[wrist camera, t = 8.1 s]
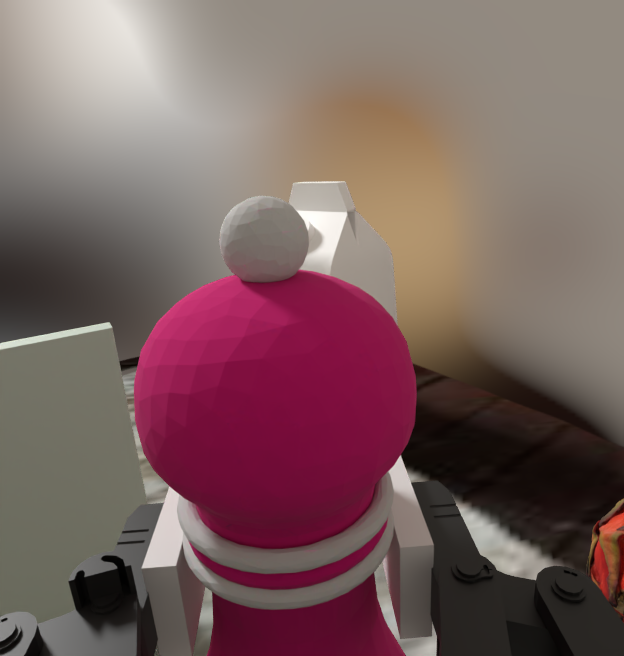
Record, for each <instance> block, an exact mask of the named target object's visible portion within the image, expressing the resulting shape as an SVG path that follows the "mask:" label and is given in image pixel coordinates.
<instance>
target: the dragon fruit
mask: <svg viewBox="0 0 624 656" xmlns="http://www.w3.org/2000/svg"><path fill="white" fill-rule="evenodd" d="M588 561H589V564H588ZM588 561H587V565H588V567H587V569H586V575H587V576H588V577H590V575H591V578H592V581H593V582H594V583H595V584H596V585H597V586H598V587H599V588H600V590H601V591H602V593H603V594H604V596H605V597H606V599H607V600H608V601H609V603H610V604H611V606H612V607H613V609H614V610H615V612H616V613H617V614H618V616H619V617H620V619H621V620H622V622H623V623H624V499H622V500H621V501H619V502H618V503H617V504H616V506H615V507H614V508H613V509H612V510H611V511H610V512H609V513H608V514H607V515H606V516H604V517H602V519H601V520H599V521H598V522H597V523H596V524H595V526H594V528H593V534H592V544H591V549H590V554H589V557H588ZM591 564H592V566H591Z"/></svg>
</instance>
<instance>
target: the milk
mask: <svg viewBox="0 0 624 656" xmlns="http://www.w3.org/2000/svg"><path fill="white" fill-rule="evenodd" d="M289 204H290V205H291V206H293V208H294V209H295V210H296V211H297V212H298V213H299V215H300V216H301V217H302V218H303V220H304V222H305V224H306V227H307V230H308V236H309V247H308V252H307V256H306V258H305V261H304V263H303V265H302V266H301V268H300V269H299V270H307V271H314V272H318V273H322V274H326V275H329V276H333V277H336V278H338V279H341V280H343V281H345V282H348V283H350V284H352V285H355V286H357V287H359V288H360V289H362V290H363V291H365V292H366V293H368V294H369V295H371V296H372V297H373V298H374V299H376V300H377V301H378V302H379V303H380V304H381V305H382V306H383V307H384V308H385V310H386V311H387V312H388V313H389V314H390V315H391V316H392V317H393V319H394V321H395V322H396V324H397V311H396V297H395V283H394V267H393V258H392V253H391V250H390V248H389V247H388V245H387V243H386V242H385V241H384V240H383V239H382V238H381V236H380V235H379V234H378V233H377V232H376V231H375V230H374V229H373V228H372V227H371V226H370V225H369V224H368V223H367V221H366V220H365V219H364V218H363V217H362V216H361V215H360V214H359V213H358V212H357V211H355V209H356V208H355V205H354V203H353V200H352V197H351V195H350V192H349V189H348V187H347V184H346V182H299V183H293V187H292V191H291V195H290V199H289ZM397 326H398V325H397Z"/></svg>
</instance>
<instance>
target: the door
mask: <svg viewBox="0 0 624 656" xmlns="http://www.w3.org/2000/svg"><path fill="white" fill-rule="evenodd" d="M145 504H147V499H146V494H145V489H144V484H143V479H142V474H141V469H140V464H139V459H138V454H137V449H136V444H135V439H134V434H133V429H132V424H131V419H130V414H129V409H128V404H127V399H126V394H125V389H124V384H123V379H122V374H121V369H120V364H119V359H118V354H117V349H116V344H115V339H114V334H113V330H112V326H111V325H110V323H103V324H98V325H92V326H88V327H82V328H77V329H72V330H66V331H61V332H56V333H51V334H46V335H40V336H35V337H31V338H25V339H20V340H14V341H9V342H4V343H0V617H1V616H3V615H5V614H9V613H13V612H18V611H19V612H29V613H30V614H32V615H33V616H35V618H36V621H37V624H39V623H42V622H45V621H48V620H51V619H53V618H56V617H59V616H62V615H65V614H67V613H69V612H72V611H73V610H75V609H76V608H75V605H74V601H73V597H72V594H71V590H70V586H69V582H68V580H69V578H70V576H71V573H72V572H73V571H74V569H75V568H76V567H77V566H78V565H79V564H80V563H82V562H83V561H85V560H86V559H88V558H89V557H91V556H94V555H97V554H99V553H102V552H110V551H114V549H115V546H116V545H117V542H118V539H119V537H120V535H121V534H122V530H123V528H124V525H125V523H126V521H127V518H128V517H129V516H130V515H131V514H132V513H133V512H134V511H135V510H136V509H137V508H138V507H139V506H140V505H145Z"/></svg>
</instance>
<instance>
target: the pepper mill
mask: <svg viewBox="0 0 624 656" xmlns="http://www.w3.org/2000/svg"><path fill="white" fill-rule="evenodd" d="M219 244H220V250H221V255H222V257H223V259H224V261H225V263H226V265H227V266H228V267H229V269H230V270H231V272H232V273H234V274H235V275H233V276H229V277H225V278H222V279H219V280H217V281H215V282H212V283H209V284H206V285H204V286H202V287H200V288H199V289H197V290H195V291H193V292H192V293H190V294H188V295H187V296H186V297H184V298H183V299H181V300H180V301H179V302H178V303H176V304H175V305H174V306H173V307H172V308H171V309H170V310H169V311H168V312H167V313H166V314H165V315H164V316H163V317H162V318H161V319H160V320H159V321H158V322H157V324H156V326H155V327H154V329H153V331H152V332H151V334H150V336H149V338H148V339H147V341H146V343H145V345H144V347H143V348H142V350H141V355H140V359H139V363H138V367H137V372H136V376H135V382H134V402H135V421H136V426H137V430H138V434H139V437H140V441H141V445H142V448H143V452H144V454H145V456H146V458H147V459H148V461H149V463H150V464H151V466H152V468H153V469H154V471H155V472H156V473H157V474H158V475H159V476H160V477H161V478H162V479H163V480H164V481H165V482H166V483H167V484H168V485H169V486H170V487H171V488H172V489H173V490H174V491H176V492H177V493H178V494H179V499H178V505H177V514H178V520H179V523H180V526H181V529H182V531H183V549H184V554H185V558H186V561H187V563H188V566H189V567H190V569H191V570H192V572H193V573H194V574H195V576H196V577H197V578H198V579H199V581H200V582H201V583H202V584H203V585H204V586H205V587H207V588H208V589H209V590H211V591H212V598H213V629H212V636H211V642H210V648H209V651H208V654H207V656H406V655H405V653H404V652H403V650H402V649H401V647H400V645H399V644H398V642H397V640H396V639H395V637H394V635H393V634H392V632H391V630H390V629H389V627H388V625H387V623H386V621H385V620H384V617H383V614H382V611H381V608H380V605H379V602H378V599H377V592H376V584H375V576H374V571H376V569H377V568H378V567H379V565H380V564H381V562H382V561H383V560H384V558H385V556H386V554H387V552H388V550H389V548H390V545H391V542H392V538H393V533H394V517H393V513H392V508H391V507H392V503H393V497H394V489H393V484H392V480H391V476H390V474H389V472H388V471H389V470H390V469H391V468H392V467H393V466H394V465H395V463H396V462H397V460H398V458H399V457H400V455H401V454H402V452H403V450H404V449H405V447H406V445H407V444H408V441H409V439H410V436H411V433H412V430H413V427H414V425H415V412H416V396H417V394H416V376H415V372H414V368H413V364H412V361H411V357H410V353H409V350H408V345H407V342H406V340H405V338H404V336H403V335H402V333H401V331H400V329H399V328H398V326H397V324H396V322H395V321H394V319H393V317H392V316H391V315H390V314H389V313H388V312H387V311H386V310H385V308H384V307H383V306H382V305H381V304H380V303H379V302H378V301H377V300H376V299H374V298H373V297H372V296H371V295H369V294H368V293H366V292H365V291H363V290H362V289H360V288H359V287H357V286H355V285H352V284H350V283H348V282H345V281H343V280H341V279H338V278H336V277H333V276H329V275H326V274H322V273H318V272H314V271H307V270H299V269H300V268H301V266H302V265H303V263H304V261H305V258H306V256H307V252H308V247H309V236H308V230H307V227H306V224H305V222H304V220H303V218H302V217H301V216H300V215H299V213H298V212H297V211H296V210H295V209H294V208H293V206H291V205H290V204H288V203H287V202H285V201H284V200H282V199H278V198H276V197H272V196H257V197H251V198H249V199H247V200H245V201H243V202H242V203H240V204H238V205H236V206H235V207H234V208H232V209H231V211H230V212H229V213H228V215H227V216H226V217H225V220H224V222H223V225H222V227H221V230H220V240H219Z"/></svg>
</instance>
